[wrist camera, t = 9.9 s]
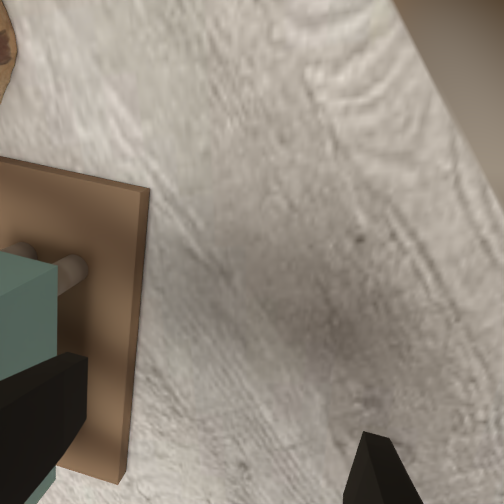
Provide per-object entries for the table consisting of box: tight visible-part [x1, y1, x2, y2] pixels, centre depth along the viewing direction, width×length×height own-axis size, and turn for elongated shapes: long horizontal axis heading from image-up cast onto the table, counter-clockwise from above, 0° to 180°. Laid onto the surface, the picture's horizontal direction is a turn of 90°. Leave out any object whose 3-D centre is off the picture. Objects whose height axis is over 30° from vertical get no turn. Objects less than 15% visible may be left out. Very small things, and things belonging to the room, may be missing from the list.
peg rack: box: [0, 156, 150, 485], centre depth 21 cm, size 18×9×4 cm, turn 170°
